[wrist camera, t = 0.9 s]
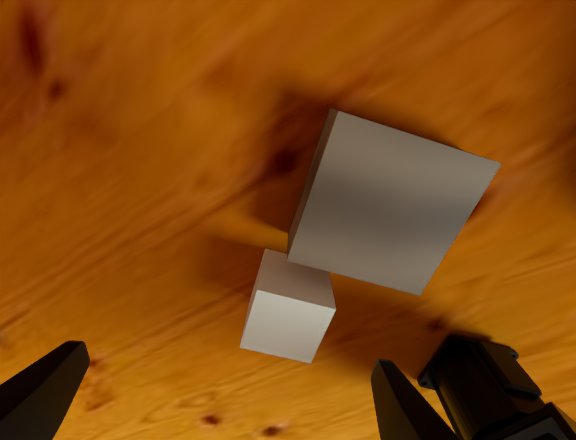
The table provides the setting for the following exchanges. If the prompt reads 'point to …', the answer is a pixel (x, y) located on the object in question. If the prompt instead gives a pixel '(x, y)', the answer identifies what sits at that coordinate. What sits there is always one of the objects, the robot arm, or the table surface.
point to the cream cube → (288, 309)
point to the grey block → (383, 203)
